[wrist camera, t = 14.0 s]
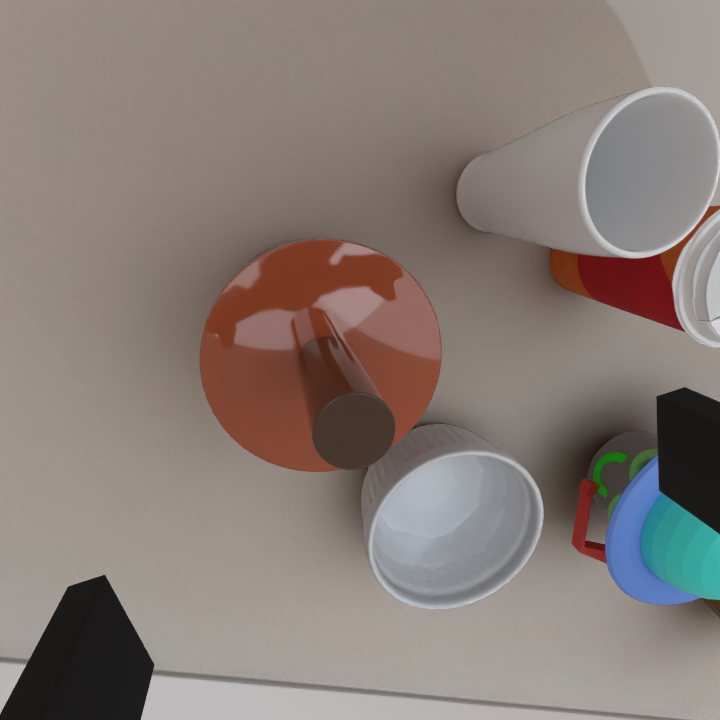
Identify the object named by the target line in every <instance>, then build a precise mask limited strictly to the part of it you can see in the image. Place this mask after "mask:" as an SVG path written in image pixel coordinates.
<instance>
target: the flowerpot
mask: <svg viewBox="0 0 720 720" xmlns="http://www.w3.org/2000/svg"><path fill="white" fill-rule="evenodd" d="M703 599H704V601H705V602H706V603H707V604H708V606H709V607H710V608H711V609H712V610H713V611H714V612H715V613H716V614H717V615H718V616H719V618H720V600H714V599H705V598H703Z"/></svg>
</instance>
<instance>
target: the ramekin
mask: <svg viewBox="0 0 720 720" xmlns="http://www.w3.org/2000/svg"><path fill="white" fill-rule="evenodd" d="M361 509H362V517H363V523H364V546H365V551H366V555H367V558H368V561H369V564H370V567H371V569H372V572H373V574H374V576H375V578H376V579H377V581H378V582H379V584H380V585H381V586H382V587H383V588H384V589H385V590H386V591H387V592H388V593H389V594H390V595H391V596H393V597H394V598H396V599H397V600H399V601H401V602H403V603H405V604H407V605H410V606H413V607H418V608H422V609H432V610H441V609H451V608H457V607H461V606H465V605H468V604H471V603H474V602H476V601H479V600H481V599H483V598H485V597H487V596H489V595H491V594H492V593H494V592H496V591H497V590H499V589H500V588H501V587H503V586H504V585H505V584H507V583H508V582H509V581H510V580H511V579H512V578H513V577H514V576H516V574H517V573H518V572H519V571H520V570H521V569H522V568H523V567H524V565H525V564H526V563H527V561H528V560H529V558H530V556H531V555H532V553H533V552H534V550H535V548H536V545H537V543H538V541H539V538H540V535H541V531H542V526H543V518H544V510H543V501H542V497H541V493H540V491H539V488H538V486H537V484H536V482H535V481H534V479H533V478H532V476H531V475H530V474H529V472H528V471H527V470H526V469H525V468H524V467H523V466H522V465H521V464H520V463H519V462H518V461H517V460H516V459H515V458H514V457H512V456H511V455H510V454H508V453H506V452H505V451H503V450H501V449H498V448H496V447H494V446H493V445H491V444H490V443H489V442H487V441H486V440H484V439H483V438H481V437H480V436H478V435H476V434H474V433H472V432H471V431H468V430H466V429H464V428H462V427H457V426H454V425H447V424H433V425H425V426H421V427H417V428H414V429H412V430H410V431H409V432H408V433H407V434H406V436H405V437H403V438H402V439H401V440H400V441H399V442H398V443H396V444H395V445H394V446H393V447H391V448H390V449H389V450H388V451H387V453H386V454H385V455H384V456H383V457H382V458H381V459H380V460H378V461H377V462H376V463H374V464H372V465H370V466H369V468H368V471H367V474H366V475H365V477H364V483H363V485H362V494H361Z"/></svg>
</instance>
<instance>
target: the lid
mask: <svg viewBox="0 0 720 720" xmlns="http://www.w3.org/2000/svg"><path fill="white" fill-rule="evenodd" d="M440 366H441V337H440V330H439V326H438V322H437V318H436V315H435V313H434V310H433V308H432V305H431V303H430V301H429V299H428V298H427V296H426V294H425V293H424V291H423V289H422V288H421V287H420V285H419V284H418V283H417V282H416V280H415V279H414V278H413V277H412V276H411V275H410V274H409V273H408V272H407V271H406V270H405V269H404V268H403V267H402V266H400V265H399V264H398V263H396V262H395V261H394V260H392V259H391V258H389V257H388V256H386V255H384V254H382V253H380V252H378V251H376V250H374V249H372V248H369V247H366V246H363V245H361V244H358V243H353V242H349V241H344V240H335V239H311V240H304V241H299V242H294V243H290V244H287V245H284V246H281V247H278V248H275V249H273V250H271V251H269V252H267V253H265V254H263V255H261V256H260V257H258V258H257V259H255V260H254V261H252V262H251V263H249V264H248V265H246V266H245V267H244V268H243V269H242V270H241V271H240V272H239V273H237V274H236V275H235V276H234V277H233V278H232V280H231V281H230V282H229V283H228V284H227V286H226V287H225V288H224V289H223V290H222V292H221V294H220V295H219V297H218V298H217V300H216V302H215V303H214V305H213V307H212V309H211V312H210V314H209V316H208V318H207V321H206V324H205V328H204V331H203V335H202V340H201V347H200V373H201V379H202V385H203V388H204V391H205V395H206V398H207V401H208V403H209V405H210V407H211V409H212V411H213V413H214V415H215V416H216V418H217V419H218V421H219V423H220V424H221V426H222V427H223V428H224V429H225V430H226V431H227V433H228V434H229V435H230V436H231V437H232V438H233V439H234V440H235V441H236V442H237V443H239V444H240V445H241V446H242V447H243V448H245V449H246V450H248V451H249V452H251V453H252V454H254V455H255V456H257V457H259V458H261V459H263V460H265V461H267V462H269V463H272V464H275V465H278V466H281V467H284V468H288V469H293V470H298V471H309V472H326V471H334V470H341V469H344V470H356V469H362V468H365V467H368V466H370V465H372V464H374V463H376V462H377V461H378V460H380V459H381V458H382V457H383V456H384V455H385V454H386V453H387V451H388V450H389V449H390V448H391V447H393V446H394V445H395V444H396V443H398V442H399V441H400V440H401V439H402V438H403V437H405V436H406V434H407V433H408V432H409V431H410V430H411V429H412V428H413V427H414V426H415V424H416V423H417V422H418V420H419V419H420V418H421V416H422V415H423V413H424V411H425V410H426V408H427V406H428V404H429V402H430V400H431V398H432V396H433V393H434V391H435V388H436V385H437V381H438V377H439V373H440Z"/></svg>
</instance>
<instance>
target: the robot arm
mask: <svg viewBox="0 0 720 720" xmlns="http://www.w3.org/2000/svg"><path fill="white" fill-rule="evenodd" d="M657 437H658V479H659V491H660V492H661V493H663V494H664V495H666V496H667V497H668V498H670V499H671V500H673V501H674V502H675V503H677V504H678V505H680V506H681V507H682V508H684V509H685V510H687V511H688V512H689V513H691V514H692V515H693V516H695V517H696V518H698V519H699V520H700V521H702V522H703V523H705V524H706V525H707V526H709V527H710V528H712V529H713V530H714V531H716V532H717V533H719V534H720V402H718V401H716V400H714V399H711V398H709V397H706V396H704V395H702V394H699V393H697V392H695V391H692V390H690V389H688V388H685V387H684V388H681V389H678V390H675V391H672V392H669V393H666V394H663V395H660V396H657ZM153 668H154V663H153V661H152V660H151V658H150V656H149V654H148V652H147V650H146V649H145V647H144V645H143V643H142V641H141V640H140V638H139V636H138V634H137V632H136V631H135V629H134V627H133V625H132V623H131V621H130V620H129V618H128V616H127V614H126V612H125V611H124V609H123V607H122V605H121V603H120V601H119V600H118V598H117V596H116V594H115V592H114V591H113V589H112V587H111V585H110V583H109V581H108V580H107V578H106V576H105V575H103V576H100V577H97V578H93V579H90V580H87V581H84V582H81V583H78V584H75V585H72V586H69V587H68V588H67V590H66V592H65V594H64V596H63V597H62V599H61V601H60V603H59V605H58V607H57V609H56V611H55V612H54V614H53V616H52V618H51V620H50V622H49V624H48V626H47V627H46V629H45V631H44V633H43V635H42V637H41V639H40V641H39V642H38V644H37V646H36V648H35V650H34V652H33V654H32V656H31V657H30V659H29V661H28V663H27V665H26V667H25V669H24V671H23V672H22V674H21V676H20V678H19V680H18V682H17V684H16V686H15V688H14V689H13V691H12V693H11V695H10V697H9V699H8V701H7V703H6V704H5V706H4V708H3V710H2V712H1V714H0V720H141V716H142V712H143V708H144V704H145V700H146V696H147V692H148V688H149V684H150V680H151V676H152V672H153Z"/></svg>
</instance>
